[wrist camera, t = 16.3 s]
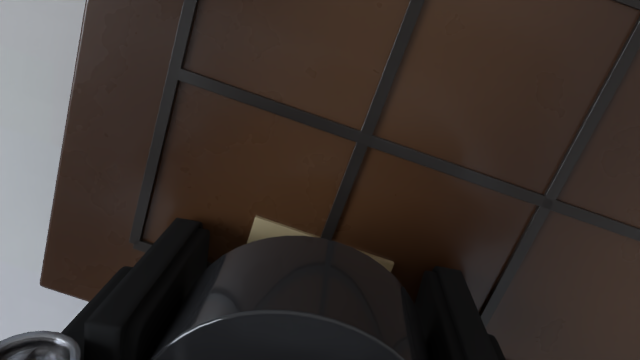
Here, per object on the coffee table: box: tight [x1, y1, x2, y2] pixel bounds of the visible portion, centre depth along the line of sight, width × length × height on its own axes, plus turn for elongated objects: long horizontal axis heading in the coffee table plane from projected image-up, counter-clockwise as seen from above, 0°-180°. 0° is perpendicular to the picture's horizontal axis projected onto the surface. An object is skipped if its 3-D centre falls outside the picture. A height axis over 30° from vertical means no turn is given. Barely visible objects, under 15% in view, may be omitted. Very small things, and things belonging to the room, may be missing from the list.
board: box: [40, 0, 640, 360], centre depth 9 cm, size 20×20×2 cm
